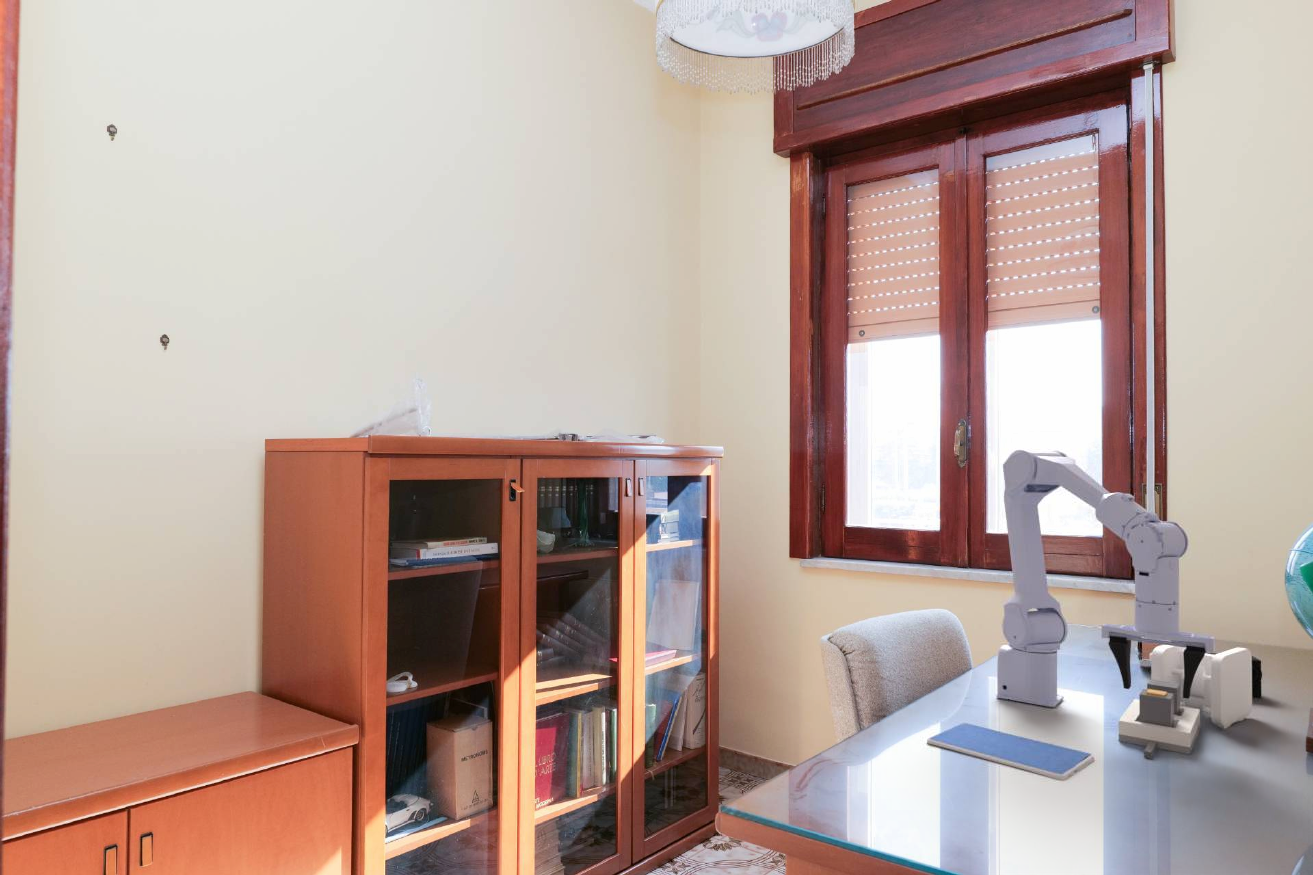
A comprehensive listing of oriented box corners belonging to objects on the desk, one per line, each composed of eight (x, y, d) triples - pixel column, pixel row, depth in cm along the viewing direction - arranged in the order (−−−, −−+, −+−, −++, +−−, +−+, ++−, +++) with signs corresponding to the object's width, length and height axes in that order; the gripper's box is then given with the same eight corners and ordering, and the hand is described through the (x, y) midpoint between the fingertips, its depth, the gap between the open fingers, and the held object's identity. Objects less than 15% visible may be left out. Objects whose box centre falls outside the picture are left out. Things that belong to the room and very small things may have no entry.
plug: (1139, 734, 123) (1139, 692, 123) (1143, 728, 126) (1143, 686, 126) (1170, 740, 121) (1170, 696, 121) (1173, 733, 124) (1173, 691, 124)
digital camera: (1198, 694, 151) (1198, 656, 152) (1188, 687, 157) (1188, 650, 157) (1264, 700, 148) (1264, 661, 149) (1252, 692, 153) (1252, 655, 154)
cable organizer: (1220, 733, 128) (1220, 658, 128) (1147, 716, 136) (1147, 646, 137) (1253, 717, 137) (1253, 647, 138) (1183, 702, 146) (1182, 636, 146)
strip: (1185, 765, 113) (1185, 713, 113) (1111, 750, 118) (1111, 701, 119) (1200, 728, 130) (1199, 683, 130) (1134, 716, 136) (1134, 674, 136)
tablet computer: (1096, 762, 115) (1096, 753, 115) (1063, 785, 106) (1063, 774, 106) (963, 729, 129) (963, 721, 129) (924, 747, 120) (924, 738, 120)
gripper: (1098, 598, 126) (1097, 688, 125) (1212, 610, 117) (1212, 707, 116) (1106, 593, 131) (1105, 679, 131) (1215, 605, 122) (1215, 697, 122)
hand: (1156, 692), depth 124 cm, fingers open, 7 cm apart
